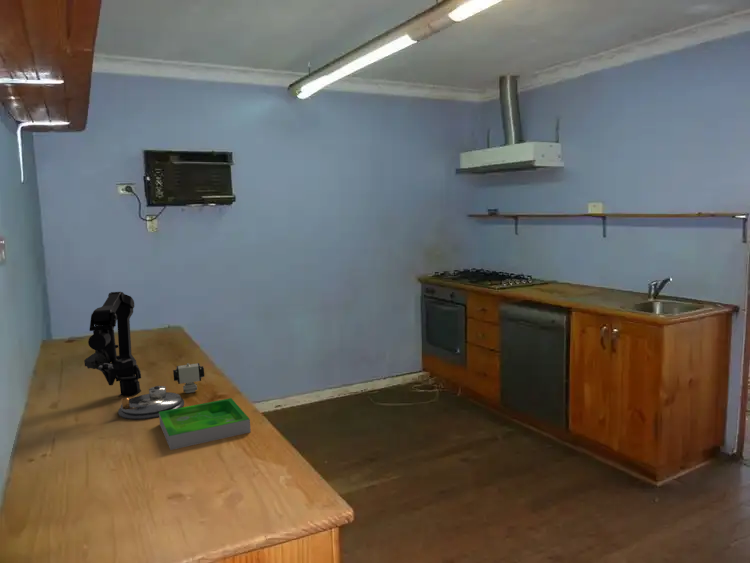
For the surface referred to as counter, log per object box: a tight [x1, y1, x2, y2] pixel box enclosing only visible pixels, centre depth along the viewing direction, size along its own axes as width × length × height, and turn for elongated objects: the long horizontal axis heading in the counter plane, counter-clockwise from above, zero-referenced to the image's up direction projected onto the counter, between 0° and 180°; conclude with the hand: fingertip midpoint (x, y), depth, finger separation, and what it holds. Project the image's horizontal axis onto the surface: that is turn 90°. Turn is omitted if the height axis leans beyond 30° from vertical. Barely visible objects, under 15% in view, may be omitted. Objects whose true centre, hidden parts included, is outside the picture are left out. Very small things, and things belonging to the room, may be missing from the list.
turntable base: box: [117, 397, 185, 421], centre depth 213 cm, size 23×23×1 cm
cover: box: [148, 385, 167, 399], centre depth 218 cm, size 6×6×4 cm
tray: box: [158, 397, 252, 451], centre depth 191 cm, size 25×25×5 cm
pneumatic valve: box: [172, 362, 205, 394], centre depth 231 cm, size 6×12×12 cm, turn 110°
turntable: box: [120, 391, 182, 415], centre depth 213 cm, size 21×21×5 cm
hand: (111, 385), depth 209 cm, fingers closed
